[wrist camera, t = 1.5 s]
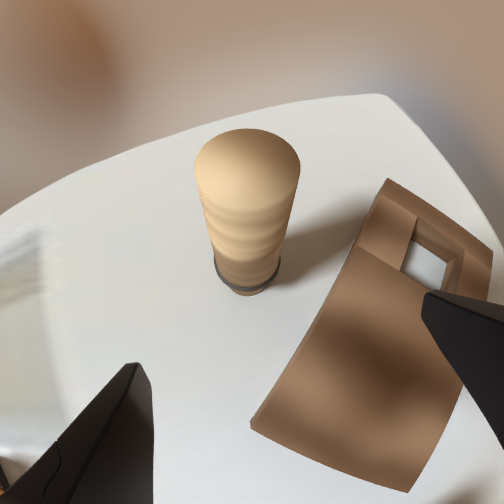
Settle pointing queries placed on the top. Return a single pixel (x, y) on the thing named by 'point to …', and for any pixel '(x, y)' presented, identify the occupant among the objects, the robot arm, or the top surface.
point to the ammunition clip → (3, 482)
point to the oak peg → (247, 204)
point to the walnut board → (377, 351)
